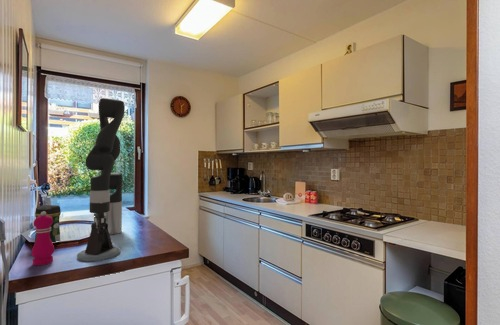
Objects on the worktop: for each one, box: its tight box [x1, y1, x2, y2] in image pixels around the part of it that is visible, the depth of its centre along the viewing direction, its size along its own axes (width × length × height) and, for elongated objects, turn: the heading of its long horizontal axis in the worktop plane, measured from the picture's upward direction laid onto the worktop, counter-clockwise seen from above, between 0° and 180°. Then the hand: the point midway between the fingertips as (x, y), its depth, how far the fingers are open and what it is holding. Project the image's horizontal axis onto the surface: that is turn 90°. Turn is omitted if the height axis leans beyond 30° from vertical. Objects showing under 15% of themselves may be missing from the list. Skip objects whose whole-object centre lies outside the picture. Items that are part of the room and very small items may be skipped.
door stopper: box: [84, 222, 113, 255], centre depth 116 cm, size 9×6×12 cm, turn 164°
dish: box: [76, 245, 121, 263], centre depth 116 cm, size 16×16×1 cm
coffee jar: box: [34, 204, 62, 243], centre depth 130 cm, size 10×8×19 cm
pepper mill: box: [30, 211, 55, 266], centre depth 106 cm, size 7×7×20 cm
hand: (99, 239), depth 116 cm, fingers closed on door stopper, 6 cm apart
